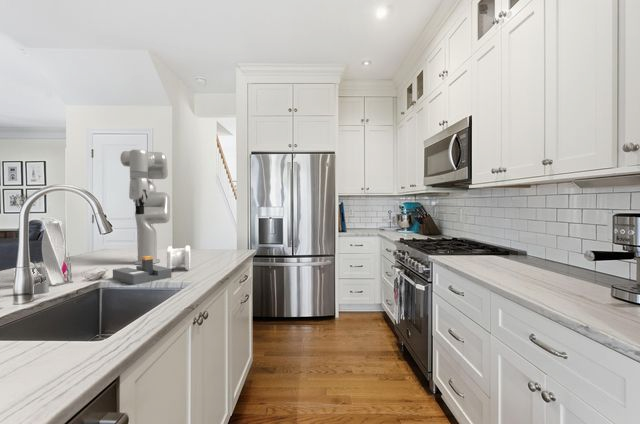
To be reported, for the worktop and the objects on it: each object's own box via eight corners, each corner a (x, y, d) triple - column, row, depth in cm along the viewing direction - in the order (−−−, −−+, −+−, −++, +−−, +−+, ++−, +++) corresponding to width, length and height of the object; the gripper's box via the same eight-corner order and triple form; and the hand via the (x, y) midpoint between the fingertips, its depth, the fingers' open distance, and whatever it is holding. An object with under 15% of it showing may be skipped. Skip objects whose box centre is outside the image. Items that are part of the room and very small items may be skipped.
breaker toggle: (142, 274, 139) (141, 256, 139) (149, 273, 141) (149, 255, 141) (145, 275, 137) (145, 257, 137) (153, 274, 140) (152, 256, 139)
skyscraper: (51, 287, 127) (50, 217, 126) (37, 285, 129) (35, 217, 129) (73, 282, 135) (71, 216, 135) (58, 281, 137) (57, 216, 137)
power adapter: (32, 292, 119) (31, 260, 119) (49, 291, 121) (48, 259, 121) (27, 294, 116) (26, 262, 116) (45, 293, 118) (44, 261, 118)
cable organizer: (168, 267, 166) (168, 245, 165) (190, 266, 170) (190, 244, 169) (167, 273, 152) (166, 249, 152) (190, 271, 156) (190, 247, 156)
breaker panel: (112, 278, 142) (112, 269, 141) (149, 272, 155) (149, 263, 154) (133, 284, 130) (133, 274, 130) (171, 277, 143) (171, 268, 143)
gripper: (123, 176, 153) (124, 214, 154) (138, 174, 145) (139, 215, 145) (139, 177, 159) (140, 213, 160) (154, 175, 151) (155, 214, 151)
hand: (139, 214), depth 153 cm, fingers closed
